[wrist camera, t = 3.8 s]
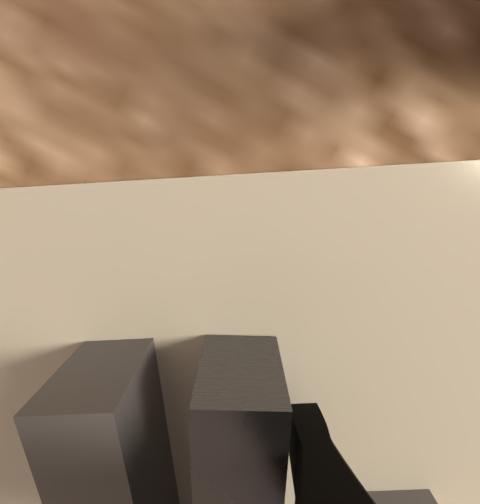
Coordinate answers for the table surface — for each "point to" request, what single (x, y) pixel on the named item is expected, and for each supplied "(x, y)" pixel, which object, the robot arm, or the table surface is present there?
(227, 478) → the block
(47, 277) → the hearth board
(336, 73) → the table surface
